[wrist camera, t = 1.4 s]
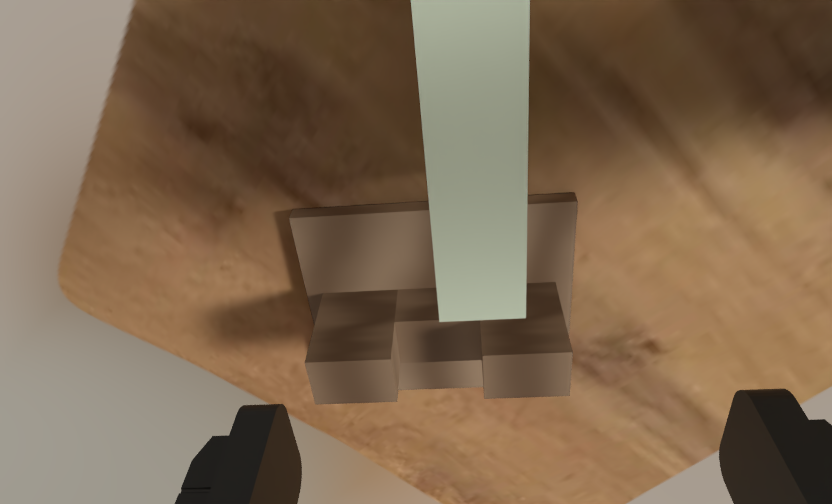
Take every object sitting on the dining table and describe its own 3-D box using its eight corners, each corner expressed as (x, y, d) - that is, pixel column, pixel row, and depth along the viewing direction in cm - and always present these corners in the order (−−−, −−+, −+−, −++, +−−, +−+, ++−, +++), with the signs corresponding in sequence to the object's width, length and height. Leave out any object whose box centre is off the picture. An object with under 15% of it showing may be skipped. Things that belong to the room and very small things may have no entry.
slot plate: (574, 192, 35) (600, 265, 29) (563, 373, 42) (582, 459, 37) (292, 209, 36) (263, 282, 30) (332, 381, 44) (315, 466, 38)
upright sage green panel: (496, -88, 27) (530, -34, 16) (499, 162, 34) (525, 318, 23) (422, -81, 27) (408, -23, 17) (440, 166, 34) (439, 322, 23)
